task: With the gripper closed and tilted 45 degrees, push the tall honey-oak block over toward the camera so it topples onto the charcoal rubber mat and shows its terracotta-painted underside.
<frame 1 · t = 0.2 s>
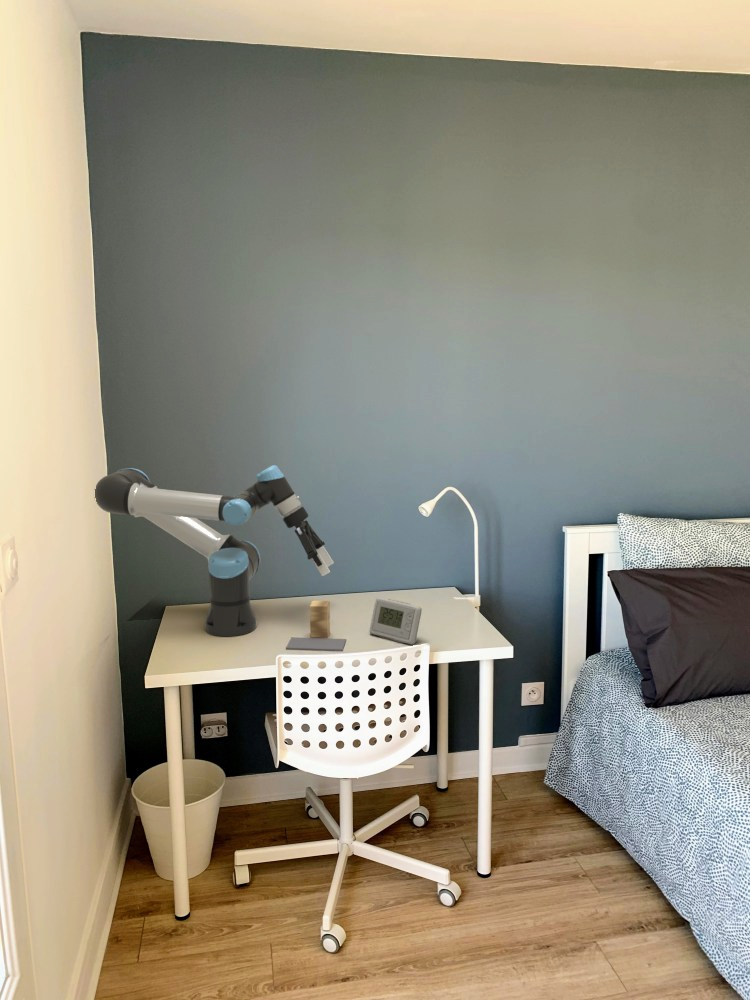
hand: (328, 569, 240), 15 cm above the table, tool tilted 30°, fingers open, 13 cm apart
digital clock: (395, 638, 225), on the table
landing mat: (316, 644, 220), on the table
oak block: (320, 636, 226), on the table
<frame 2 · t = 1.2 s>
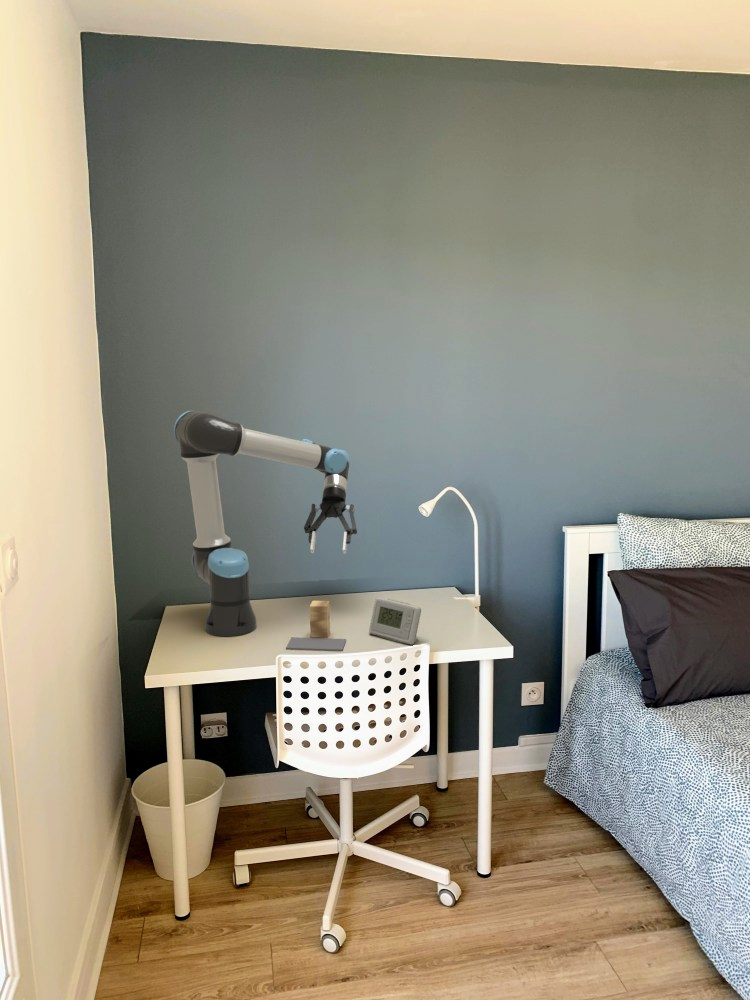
hand: (328, 551, 239), 21 cm above the table, tool tilted 45°, fingers open, 9 cm apart
nothing on the table moved.
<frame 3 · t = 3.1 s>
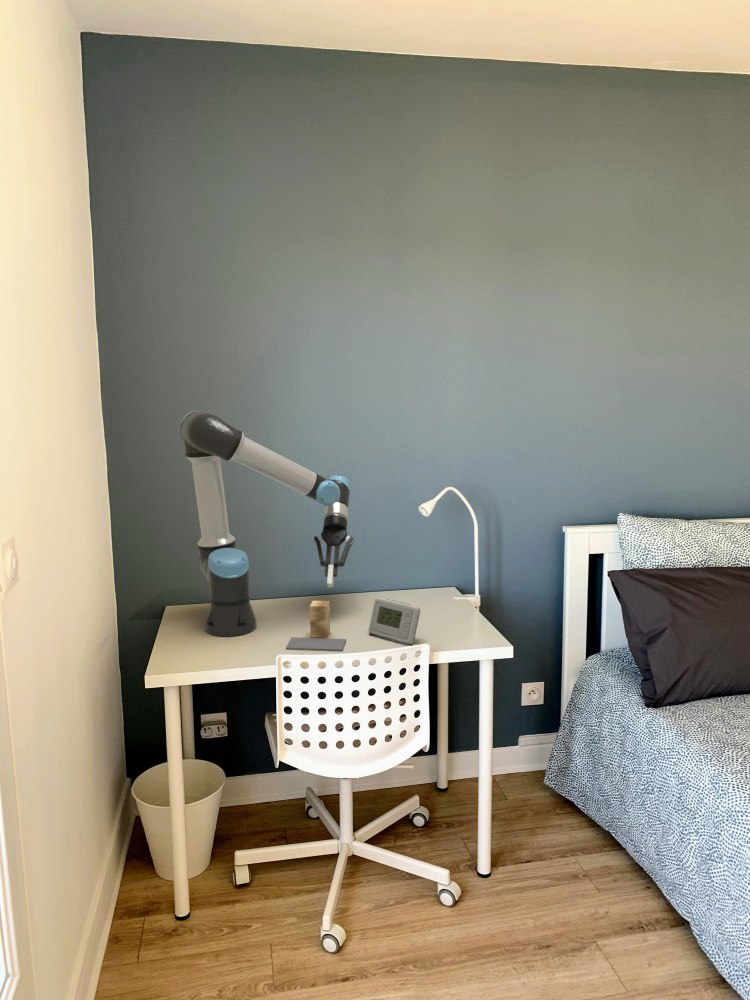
hand: (329, 585, 236), 12 cm above the table, tool tilted 45°, fingers closed
nothing on the table moved.
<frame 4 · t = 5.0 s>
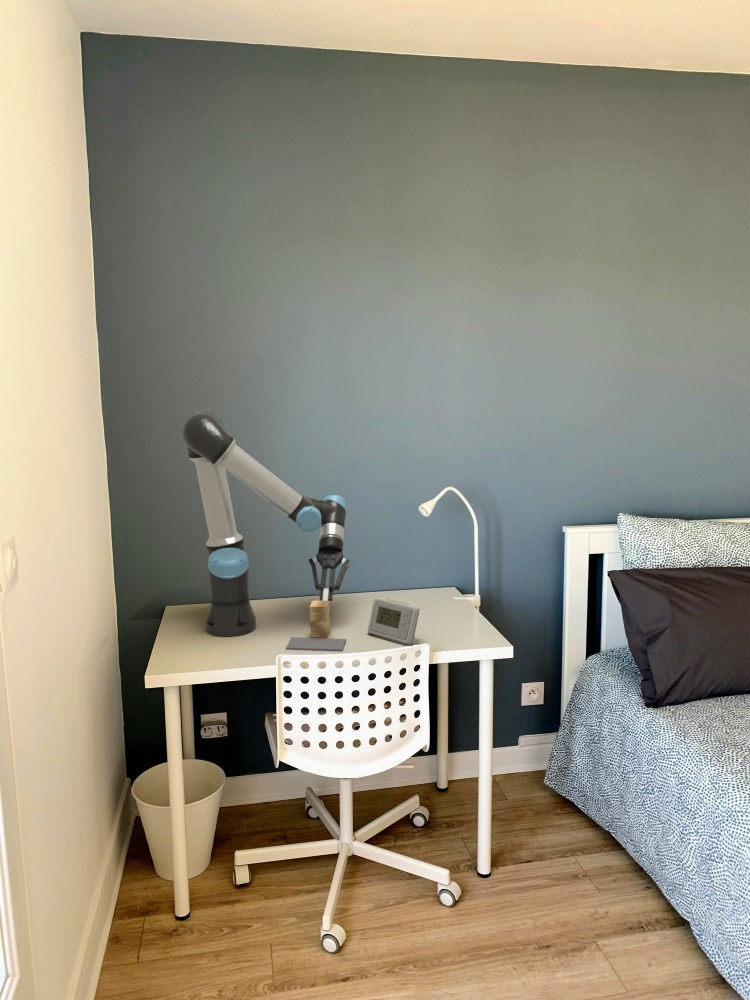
hand: (324, 610, 228), 7 cm above the table, tool tilted 45°, fingers closed
oak block: (320, 635, 226), on the table, touching gripper
everything else where it was.
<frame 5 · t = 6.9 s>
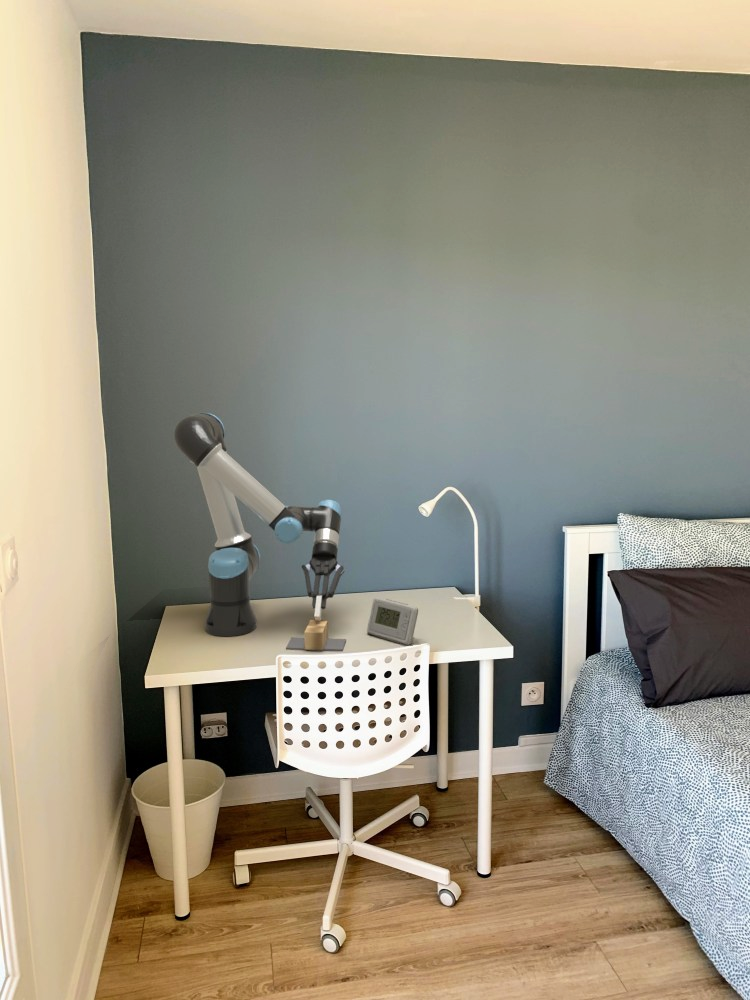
hand: (317, 618, 221), 7 cm above the table, tool tilted 45°, fingers closed
oak block: (319, 628, 224), point 3 cm above the table, tilted 90°, touching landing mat
everything else where it was.
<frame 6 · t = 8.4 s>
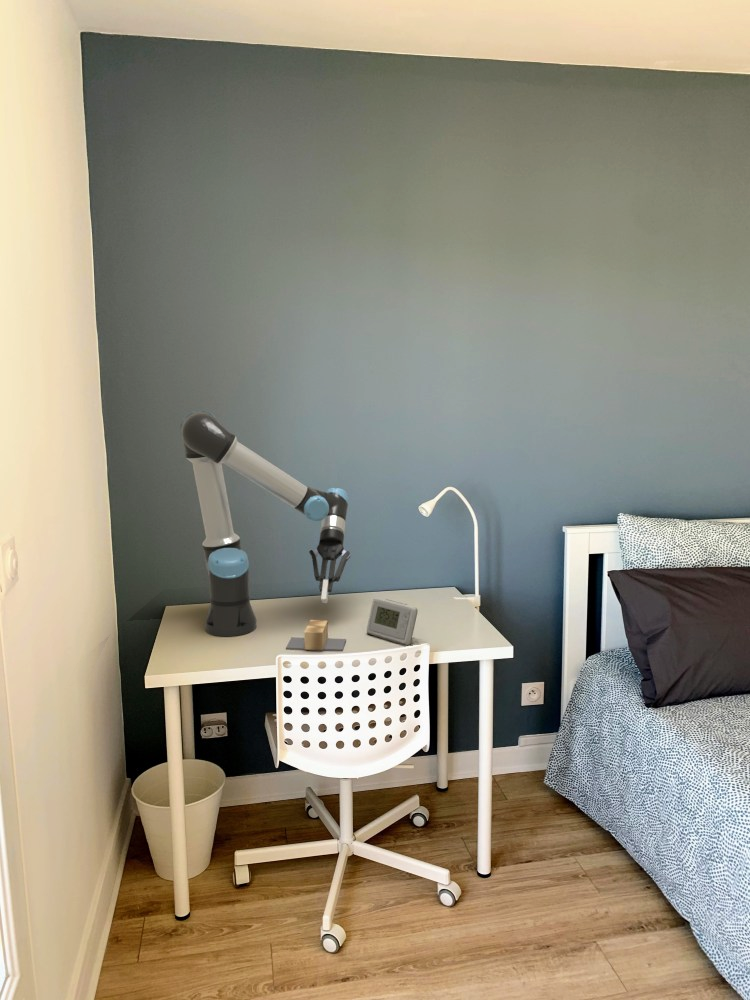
hand: (324, 600, 231), 9 cm above the table, tool tilted 45°, fingers closed
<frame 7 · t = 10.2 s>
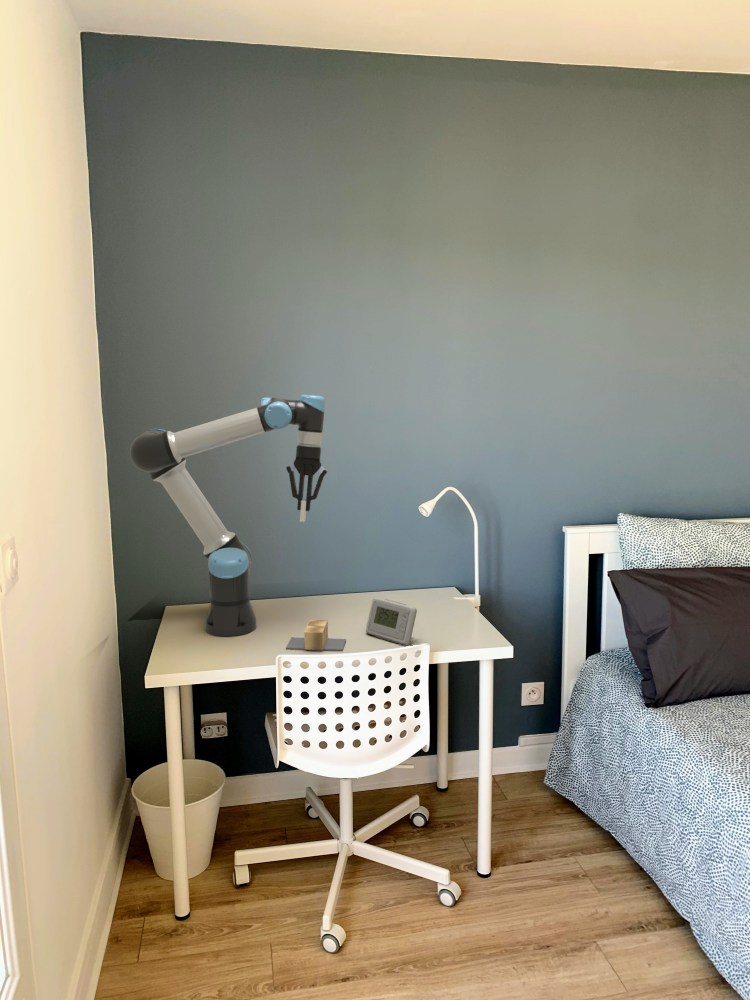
hand: (302, 520, 241), 30 cm above the table, tool pointing down, fingers closed
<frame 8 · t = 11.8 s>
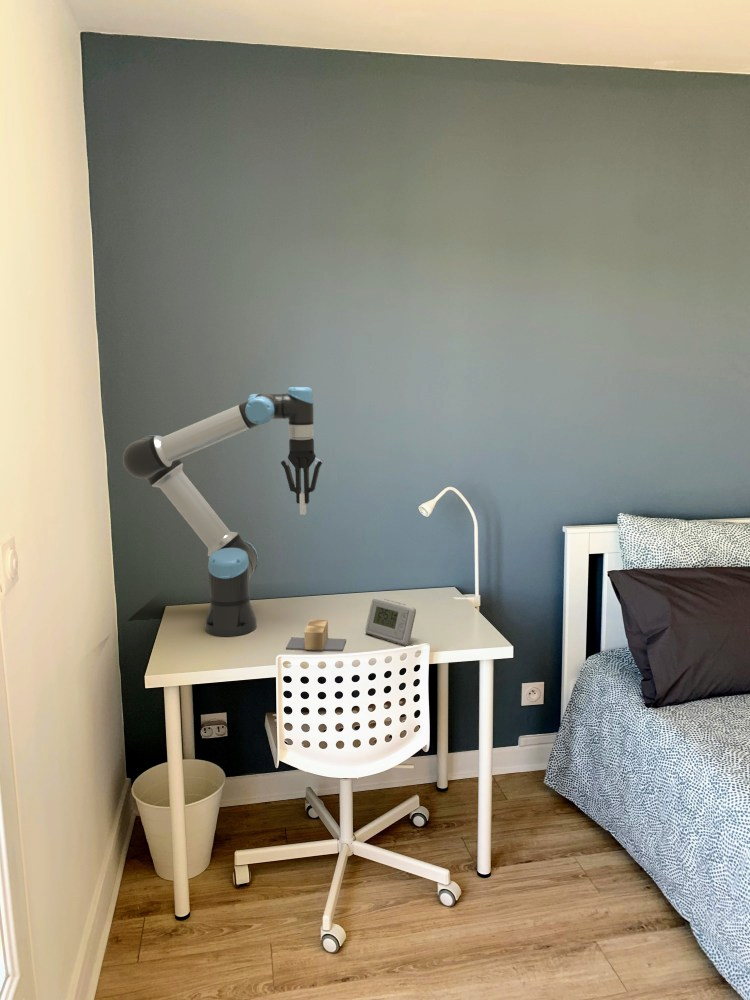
hand: (303, 513, 240), 32 cm above the table, tool pointing down, fingers closed
at the end: oak block tilted 90°; oak block inside the target area (1.8 cm from its centre), point 3.0 cm above the table; digital clock moved 1.5 cm from its start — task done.
